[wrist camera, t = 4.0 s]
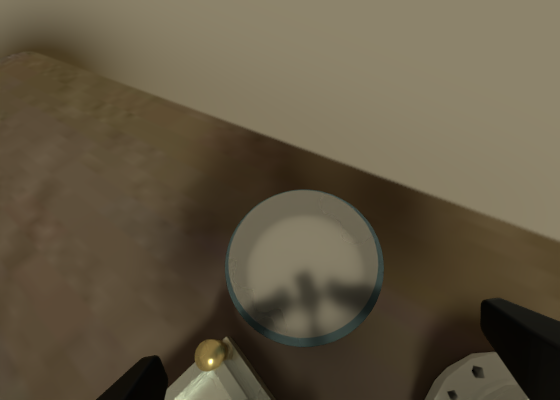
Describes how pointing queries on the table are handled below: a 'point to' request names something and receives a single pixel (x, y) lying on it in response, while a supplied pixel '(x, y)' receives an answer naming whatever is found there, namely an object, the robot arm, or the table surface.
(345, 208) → the cylinder
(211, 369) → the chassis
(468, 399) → the mechanical component
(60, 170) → the table surface
